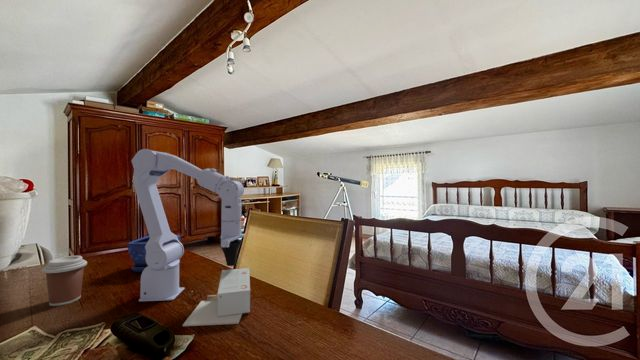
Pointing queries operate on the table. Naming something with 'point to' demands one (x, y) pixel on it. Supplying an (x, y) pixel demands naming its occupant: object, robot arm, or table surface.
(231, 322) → the mat
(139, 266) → the flower pot
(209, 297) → the oak strip
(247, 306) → the small box
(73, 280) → the coffee cup
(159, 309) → the table surface
